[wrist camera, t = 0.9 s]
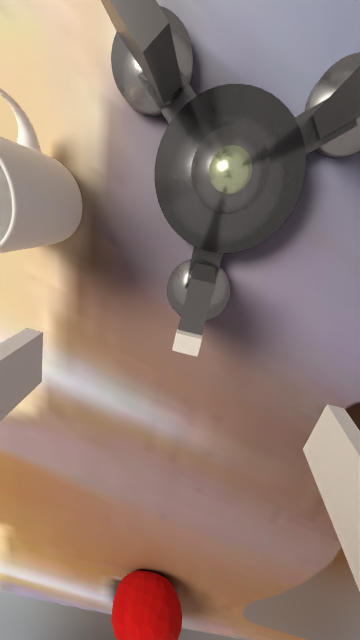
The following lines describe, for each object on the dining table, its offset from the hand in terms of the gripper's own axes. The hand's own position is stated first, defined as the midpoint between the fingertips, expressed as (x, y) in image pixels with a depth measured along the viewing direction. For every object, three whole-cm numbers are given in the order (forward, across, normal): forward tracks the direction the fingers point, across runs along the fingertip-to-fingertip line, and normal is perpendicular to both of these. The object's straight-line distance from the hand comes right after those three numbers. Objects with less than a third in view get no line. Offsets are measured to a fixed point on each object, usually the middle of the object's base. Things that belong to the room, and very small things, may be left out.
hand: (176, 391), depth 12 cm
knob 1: (+17, -8, +18) cm, 26 cm away
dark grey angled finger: (+17, 0, 0) cm, 17 cm away
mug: (+19, -18, +7) cm, 27 cm away
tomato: (+19, +5, -58) cm, 61 cm away
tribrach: (+19, 0, +9) cm, 21 cm away
